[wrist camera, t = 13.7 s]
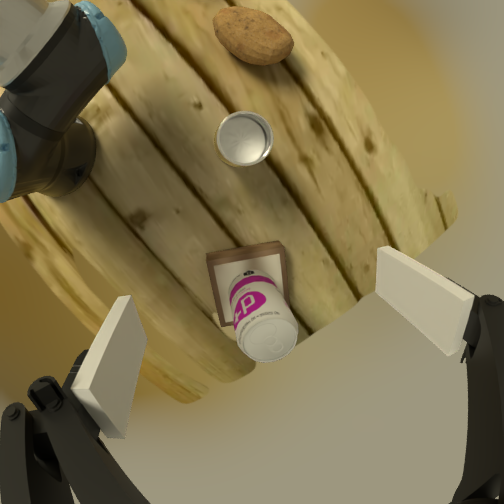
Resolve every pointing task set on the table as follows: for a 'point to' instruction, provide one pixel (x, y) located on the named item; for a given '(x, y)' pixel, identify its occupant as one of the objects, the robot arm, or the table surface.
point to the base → (240, 260)
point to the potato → (252, 35)
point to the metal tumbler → (243, 139)
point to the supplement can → (261, 317)
